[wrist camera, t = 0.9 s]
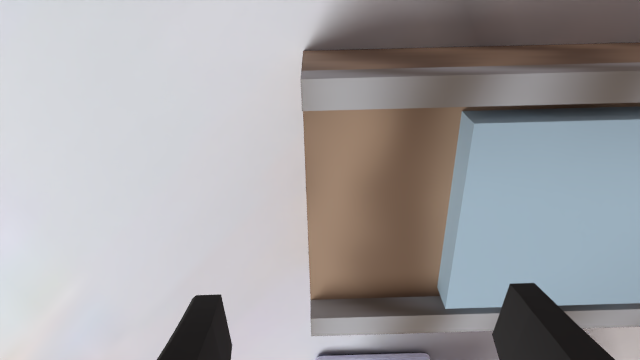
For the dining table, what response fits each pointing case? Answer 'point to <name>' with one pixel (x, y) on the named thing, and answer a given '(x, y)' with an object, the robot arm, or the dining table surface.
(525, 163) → the lid plate
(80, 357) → the dining table surface
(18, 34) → the dining table surface
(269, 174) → the dining table surface
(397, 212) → the slide box
